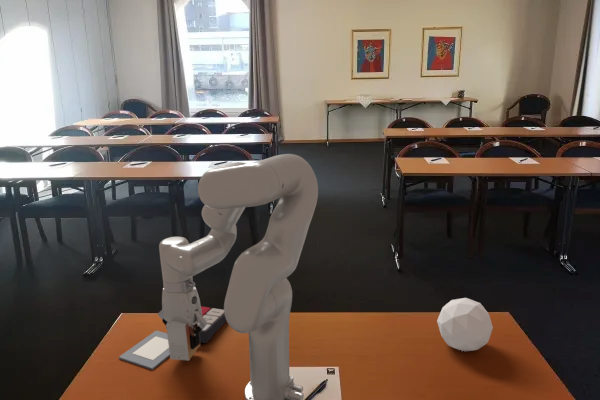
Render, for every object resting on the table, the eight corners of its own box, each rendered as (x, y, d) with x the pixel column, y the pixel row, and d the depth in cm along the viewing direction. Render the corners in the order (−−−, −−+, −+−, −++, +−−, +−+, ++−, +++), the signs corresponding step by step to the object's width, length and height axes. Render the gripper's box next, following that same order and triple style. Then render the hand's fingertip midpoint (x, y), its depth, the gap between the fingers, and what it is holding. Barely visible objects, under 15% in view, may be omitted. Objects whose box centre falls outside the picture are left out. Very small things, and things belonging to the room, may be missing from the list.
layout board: (188, 341, 140) (188, 339, 139) (152, 370, 127) (152, 367, 126) (156, 332, 145) (156, 330, 144) (118, 358, 132) (118, 356, 131)
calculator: (228, 309, 150) (205, 329, 136) (228, 321, 151) (206, 343, 137) (197, 304, 153) (171, 324, 139) (197, 316, 154) (172, 337, 140)
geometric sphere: (446, 359, 139) (421, 312, 142) (489, 336, 141) (464, 289, 144) (464, 364, 125) (436, 311, 128) (512, 338, 127) (483, 287, 130)
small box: (189, 361, 127) (185, 326, 124) (169, 359, 128) (165, 324, 125) (201, 344, 134) (197, 311, 131) (182, 343, 135) (179, 309, 133)
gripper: (213, 283, 125) (219, 343, 130) (162, 273, 132) (169, 330, 137) (196, 295, 119) (202, 358, 123) (143, 284, 126) (150, 344, 131)
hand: (184, 343), depth 130 cm, fingers closed on small box, 6 cm apart
